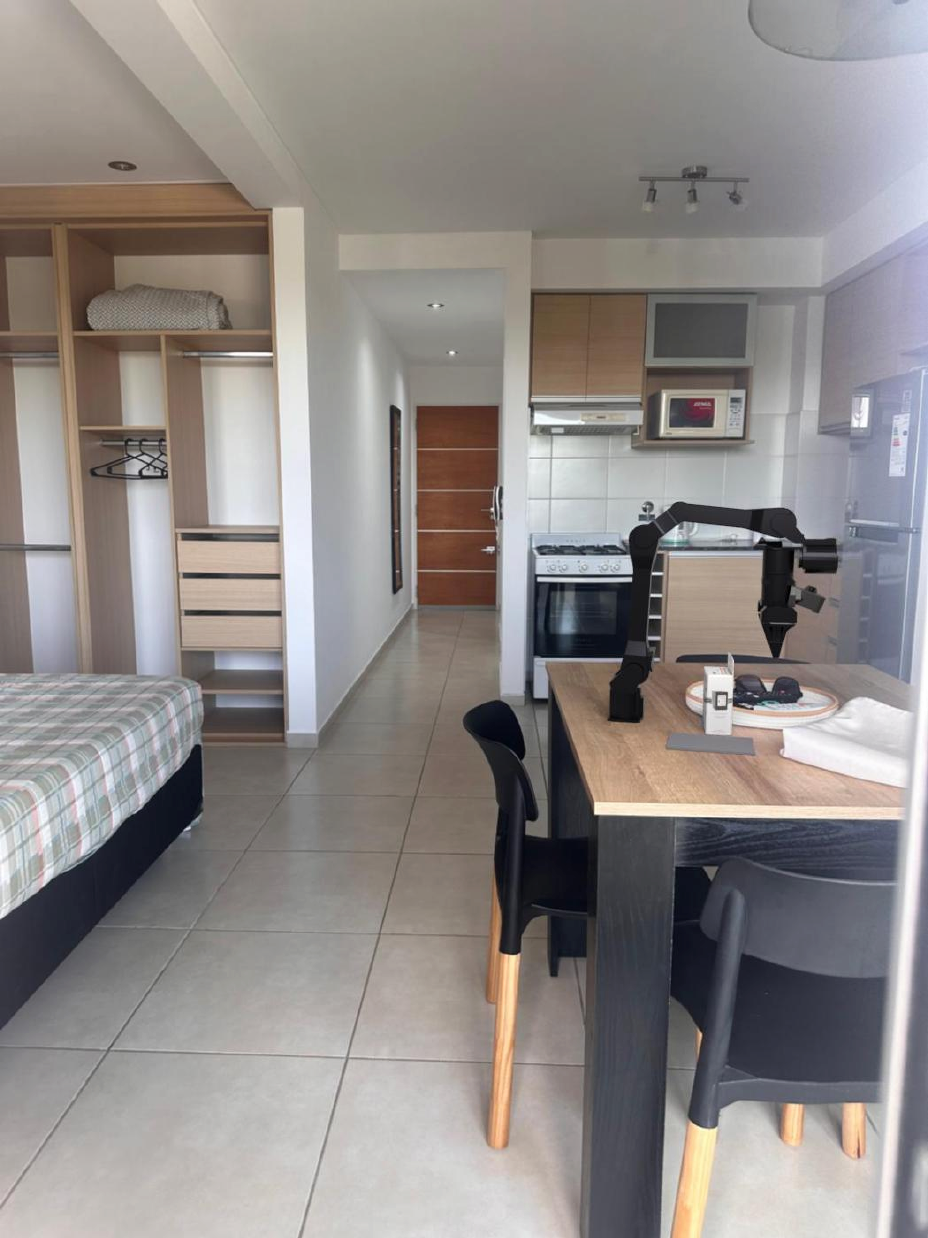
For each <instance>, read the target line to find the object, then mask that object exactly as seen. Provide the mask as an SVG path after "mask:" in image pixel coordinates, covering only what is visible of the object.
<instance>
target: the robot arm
mask: <svg viewBox="0 0 928 1238" xmlns="http://www.w3.org/2000/svg"><path fill="white" fill-rule="evenodd" d="M682 522H683V523H684V522H685V523H693V524H702V525H703V524H704V525H712V526H723V527H730V528H739V529H740V528H741V529H745V530H748V531H751V532H755V533H758V534H761V535H765V536H768V537H773V538H774V539H787V540H788V541H790V542H791V543H793V544H798V545H799V546H787V545H786V546H784V545H783V540H765V537H763V536H761V537H760V538H759V539H758V541H757V542H755V544H753V545H752V549H753V550H754V551H762V556H761V557H762V559H761V560H762V563H761V577H760V583H761V584H760V585H761V586H760V587H761V588H760V589H761V590H760V599H758V601H757V605H756V607H757V609H756V611H757V615H758V618H759V621H760V625H761V628H762V630H763V634H764V636H765V639H766V642H767V645H768V647H769V651H770V653H771V654H770V655H771V656H772V658H773V659H779V658H780V656H781V652H782V649H783V645H784V642H785V638H786V635H787V633H788V631H789V630H791V629H792V628H794V627H795V626H796V625H797V624H798V612H797V610H796V609H794V608H796V605H797V606H799V607H802V608H805V609H808V610H810V611H811V612H813V613H815V614H820V613H821V610H822V607H823V605H824V603H825V602H826V597H825V596H824V595H821V594H819V593H818V591H817V590H818V589H817V587H815V586H812V585H809V584H807V585H806V586H805V587H804V588H802V587H798V586H797V581H795V578H794V574H795V554H796V553H795V551H797V560H796V561H797V562H796V564H797V569H801V570H802V572H803V574H805V575H809V574H810V575H836V574H837V572H838V565H839V555H838V546H837V538H835V537H826V538H806V537H805V534H804V533H802V532H801V531H800V530H799V528H798V527H797V526H798V520H797V516H796V515H795V513H794V512H793V511H792V510H791V509H790V508H787V507H786V508H785V507H779V506H778V507H766V508H752V509H751V508H750V509H749V508H747V509H743V508H734V507H723V506H716V505H708V504H707V505H705V504H698V503H697V504H696V503H688V502H685V501H682V500H681V501H676V502H674V503H672V504H671V506H670V507H669V508H667V510H665V511H664V512H662V513H661V514H660V515H657V517H655V518H654V519H653V520H652V521H650V522H649V523H641V524H639V525H637V526H635V527H634V528H633V529H631V531H630V532H629V533H628V548H629V556H630V561H631V562H630V563H631V566H632V568H631V569H632V580H631V581H632V582H631V593H630V611H629V626H628V639H627V643H626V646H625V649H624V652H623V656H622V661H621V664H620V667H619V668H620V669H618V671H616V673H614V674H613V676H612V678H611V679H610V681H609V682H608V683H609V684H608V686H609V687H610V688H609V698H608V699H609V700H608V702H609V703H608V706H609V708H608V717H607V721H612V722H614V721H615V722H629V723H641V721H642V719H643V718H644V716H645V698H646V697H645V695H643V692H642V691H643V688H642V687H639V685H641V684H643V683H645V682H646V681H647V680H648V678H649V676H650V673H653V672H654V669H655V666H656V664H655V659H654V656H655V652H656V649H657V647H656V646H650V644H649V621H650V609H651V592H652V580H653V579H652V577H653V569H654V565H655V563H656V559H657V555H658V552H659V547H660V543H661V539H662V538H663V536H665V535H666V534H668V533H669V532H670V531H671V530H673V529H674V528H676V527H677V526H678V525H680V524H681V523H682Z"/></svg>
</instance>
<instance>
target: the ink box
mask: <svg viewBox="0 0 928 1238" xmlns="http://www.w3.org/2000/svg"><path fill="white" fill-rule="evenodd" d="M731 654H732V653H730V651H728V652H727V666H706V665H705V666H703V685H702V686H703V689H702V692H703V693H702V718H701V719H702V722H701V723H702V726H703V730H704V733H705V735H718V736H732V727H733V726H732V725H733V705H734V703H733V701H734V699H733V698H734V670H735V669H734V666H735V661H734V657H733V656H732V655H731Z"/></svg>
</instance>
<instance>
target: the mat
mask: <svg viewBox="0 0 928 1238" xmlns="http://www.w3.org/2000/svg"><path fill="white" fill-rule="evenodd" d="M668 735H669V736H668V740H667V743H666V750H677V751H689V752H702V753H703V752H704V753H705V752H706V753H714V754H715V753H716V754H719V753H720V754H728V755H729V754H731V755H732V754H733V755H746V756H755V755H756V751H755V743H754V738H753V737H745V736H744V737H743V736H734V735H733V736H732V735H712V734H701V733H700V734H699V733H687V732H685V733H684V732H672V731H670V732H669V734H668Z"/></svg>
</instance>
